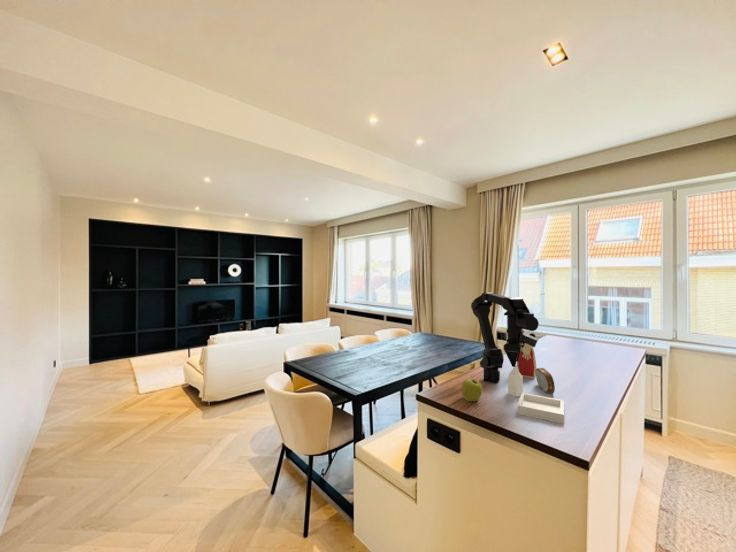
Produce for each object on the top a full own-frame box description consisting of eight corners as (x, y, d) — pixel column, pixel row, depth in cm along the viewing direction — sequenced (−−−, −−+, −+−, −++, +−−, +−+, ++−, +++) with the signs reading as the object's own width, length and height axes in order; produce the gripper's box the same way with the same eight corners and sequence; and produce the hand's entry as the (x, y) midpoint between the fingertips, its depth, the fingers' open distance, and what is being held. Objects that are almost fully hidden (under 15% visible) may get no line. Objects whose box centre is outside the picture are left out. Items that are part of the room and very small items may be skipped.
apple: (454, 396, 123) (460, 371, 124) (469, 398, 126) (474, 375, 127) (468, 403, 115) (474, 377, 117) (483, 406, 118) (489, 380, 120)
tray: (517, 413, 108) (517, 405, 108) (521, 400, 120) (521, 392, 120) (563, 423, 101) (563, 414, 101) (563, 408, 113) (563, 400, 113)
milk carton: (536, 373, 153) (536, 334, 153) (535, 378, 145) (534, 337, 145) (516, 370, 158) (516, 332, 158) (514, 375, 150) (514, 335, 150)
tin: (555, 396, 124) (555, 376, 124) (547, 396, 124) (546, 375, 124) (542, 383, 138) (541, 365, 139) (534, 383, 139) (534, 365, 139)
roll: (510, 362, 131) (524, 365, 127) (510, 390, 131) (524, 393, 127) (506, 365, 126) (520, 368, 123) (506, 394, 126) (521, 397, 123)
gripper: (534, 332, 115) (535, 373, 115) (538, 325, 131) (538, 361, 130) (503, 329, 121) (503, 368, 121) (509, 323, 137) (510, 358, 136)
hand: (515, 364), depth 127 cm, fingers open, 9 cm apart
